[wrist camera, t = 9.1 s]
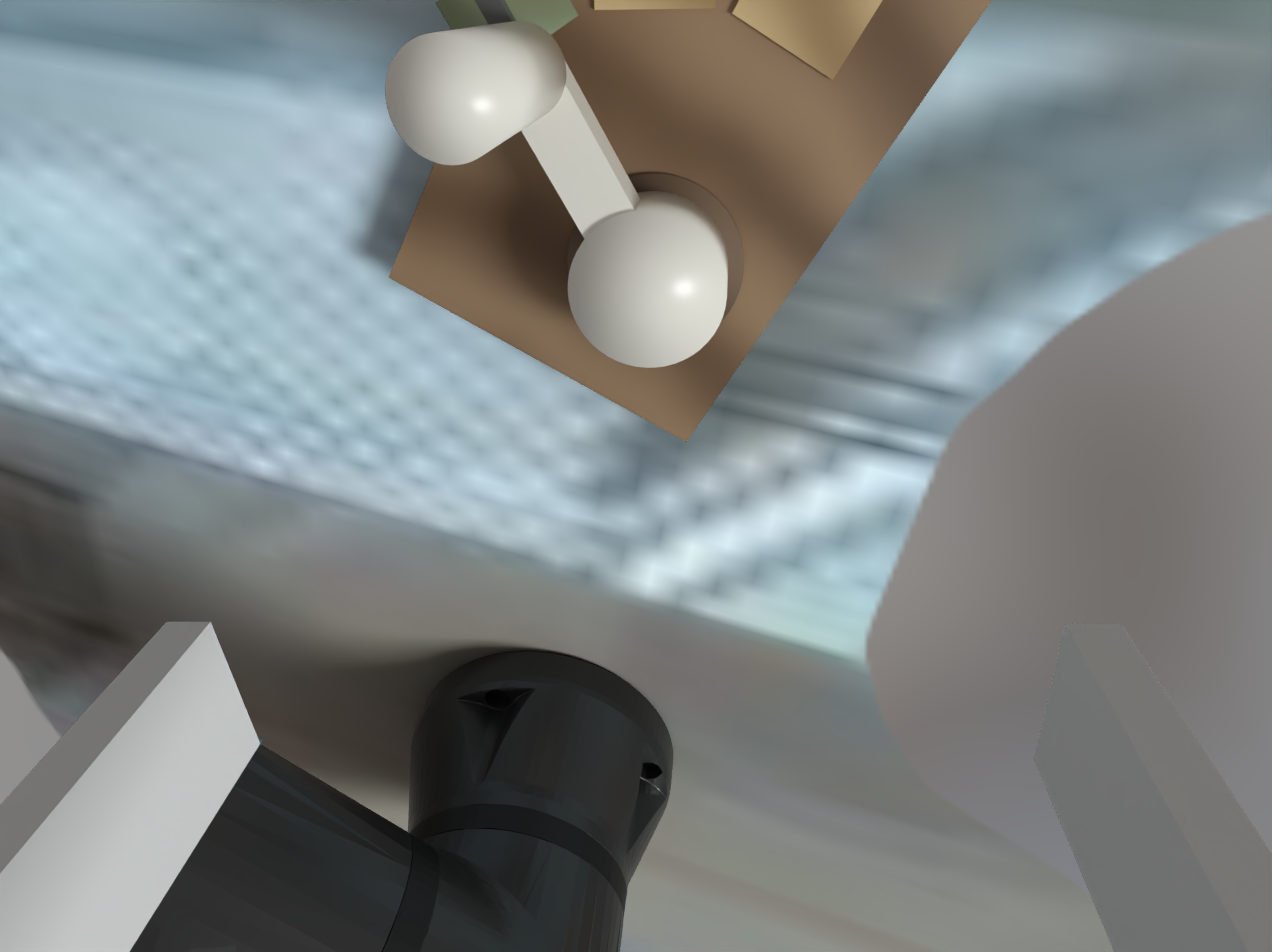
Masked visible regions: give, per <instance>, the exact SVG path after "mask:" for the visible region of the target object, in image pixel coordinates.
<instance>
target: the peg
mask: <svg viewBox="0 0 1272 952" xmlns="http://www.w3.org/2000/svg"><path fill="white" fill-rule="evenodd" d="M475 2H476V4H477V6H478V7H479V9H480V11H481V13H482V14H483V16H484V18H485V20H486V21H487V23H488V25H483V26H476V27H469V28H462V29H455V30H448V31H440V32H433V33H428V34H423V35H420V36H418V37H415V38H413V39H412V40H410V41H408V42H407V43H406V44H405V45H404V46H402V47H401V48H400V50H399V51H398V52H397V53H396V55H395V56H394V58H393V60H392V62H391V64H390V66H389V69H388V73H387V77H386V83H385V96H386V104H387V109H388V112H389V115H390V118H391V121H392V123H393V125H394V127H395V129H396V130H397V132H398V134H399V135H400V136H401V138H402V139H403V140H404V142H405V143H406V144H407V145H408V146H409V147H410V148H411V149H412V150H414V151H415V152H416V153H418V154H419V155H420V156H422V157H424V158H426V159H428V160H430V161H432V162H435V163H439V164H443V165H461V164H466V163H469V162H472V161H474V160H476V159H478V158H480V157H481V156H483V155H484V154H486V153H487V152H489V151H490V150H492V149H493V148H495V147H496V146H498V145H500V144H501V143H503V142H504V141H506V140H507V139H509V138H510V137H512V136H513V135H515V134H516V133H518V132H520V131H522V133H523V135H524V136H525V138H526V140H527V141H528V143H529V145H530V147H531V148H532V150H533V152H534V153H535V155H536V157H537V159H538V160H539V162H540V164H541V165H542V167H543V169H544V171H545V172H546V174H547V176H548V177H549V179H550V181H551V183H552V184H553V186H554V188H555V189H556V191H557V193H558V195H559V196H560V198H561V200H562V201H563V203H564V205H565V206H566V208H567V210H568V212H569V213H570V215H571V217H572V218H573V220H574V222H575V224H576V225H577V227H578V229H579V230H580V232H581V234H582V236H583V237H584V241H583V242H582V244H581V245H580V247H579V249H578V250H577V252H576V254H575V256H574V259H573V261H572V264H571V267H570V271H569V277H568V298H569V304H570V308H571V311H572V314H573V317H574V319H575V321H576V323H577V325H578V327H579V329H580V330H581V332H582V333H583V335H584V336H585V337H586V338H587V339H588V341H589V342H590V343H591V344H592V345H593V346H594V347H596V348H597V349H598V350H599V351H600V352H602V353H603V354H605V355H606V356H608V357H610V358H612V359H614V360H616V361H618V362H621V363H624V364H627V365H631V366H635V367H644V368H656V367H664V366H668V365H672V364H676V363H678V362H680V361H683V360H685V359H687V358H689V357H690V356H692V355H694V354H695V353H696V352H698V351H699V350H700V349H701V348H702V347H704V346H705V345H706V344H707V343H708V341H709V340H710V339H711V338H712V336H713V335H714V334H715V332H716V330H717V329H718V327H719V325H720V323H721V320H722V318H723V315H724V311H725V307H726V300H727V283H728V256H727V249H726V246H725V242H724V239H723V237H722V234H721V232H720V230H719V229H718V227H717V225H716V224H715V222H714V221H713V220H712V218H711V217H710V216H709V215H708V214H707V213H706V212H705V211H704V210H703V209H702V208H701V207H699V206H698V205H697V204H695V203H694V202H692V201H690V200H689V199H687V198H685V197H682V196H680V195H677V194H673V193H669V192H663V191H644V192H639V193H637V192H636V190H635V188H634V187H633V185H632V183H631V181H630V179H629V177H628V175H627V174H626V172H625V170H624V168H623V166H622V164H621V163H620V161H619V159H618V157H617V155H616V153H615V152H614V150H613V148H612V146H611V144H610V142H609V140H608V139H607V137H606V135H605V133H604V131H603V129H602V128H601V126H600V124H599V122H598V120H597V118H596V117H595V115H594V113H593V111H592V109H591V107H590V105H589V104H588V102H587V100H586V98H585V96H584V94H583V93H582V91H581V89H580V87H579V85H578V83H577V82H576V80H575V78H574V76H573V74H572V72H571V70H570V69H569V67H568V65H567V63H566V61H565V59H564V56H563V53H562V51H561V49H560V47H559V45H558V44H557V42H556V41H555V39H554V38H553V37H552V35H550V34H549V33H548V32H547V31H546V30H544V29H543V28H542V27H540V26H538V25H536V24H533V23H531V22H526V21H516V19H515V18H514V16H513V14H512V12H511V10H510V9H509V7H508V5H507V3H506V1H505V0H475Z"/></svg>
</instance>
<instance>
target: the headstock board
mask: <svg viewBox="0 0 1272 952" xmlns="http://www.w3.org/2000/svg"><path fill="white" fill-rule="evenodd" d="M505 1H506V3H507V5H508V7H509V9H510V10H511V12H512V14H513V16H514V18H515V19H516V21H526V22H531V23H533V24H536V25H538V26H540V27H542V28H543V29H544V30H546V31H547V32H548V33H549V34H550V35H552V37H553V38H554V39H555V41H556V42H557V44H558V45H559V47H560V49H561V51H562V53H563V56H564V59H565V61H566V63H567V65H568V67H569V69H570V70H571V72H572V74H573V76H574V78H575V80H576V82H577V83H578V85H579V87H580V89H581V91H582V93H583V94H584V96H585V98H586V100H587V102H588V104H589V105H590V107H591V109H592V111H593V113H594V115H595V117H596V118H597V120H598V122H599V124H600V126H601V128H602V129H603V131H604V133H605V135H606V137H607V139H608V140H609V142H610V144H611V146H612V148H613V150H614V152H615V153H616V155H617V157H618V159H619V161H620V163H621V164H622V166H623V168H624V170H625V172H626V174H627V175H628V177H629V179H630V181H631V183H632V185H633V187H634V188H635V190H636V192H637V193H639V192H644V191H663V192H669V193H673V194H677V195H680V196H682V197H685V198H687V199H689V200H690V201H692V202H694V203H695V204H697V205H698V206H699V207H701V208H702V209H703V210H704V211H705V212H706V213H707V214H708V215H709V216H710V217H711V218H712V220H713V221H714V222H715V224H716V225H717V227H718V229H719V230H720V232H721V234H722V237H723V239H724V242H725V246H726V249H727V256H728V283H727V300H726V307H725V311H724V315H723V318H722V320H721V323H720V325H719V327H718V329H717V330H716V332H715V334H714V335H713V336H712V338H711V339H710V340H709V341H708V343H707V344H706V345H705V346H704V347H702V348H701V349H700V350H699V351H698V352H696V353H695V354H694V355H692V356H690V357H689V358H687V359H685V360H683V361H680V362H678V363H676V364H672V365H668V366H664V367H656V368H644V367H635V366H631V365H627V364H624V363H621V362H618V361H616V360H614V359H612V358H610V357H608V356H606V355H605V354H603V353H602V352H600V351H599V350H598V349H597V348H596V347H594V346H593V345H592V344H591V343H590V342H589V341H588V339H587V338H586V337H585V336H584V335H583V333H582V332H581V330H580V329H579V327H578V325H577V323H576V321H575V319H574V317H573V314H572V311H571V308H570V304H569V298H568V277H569V271H570V267H571V264H572V261H573V259H574V256H575V254H576V252H577V250H578V249H579V247H580V245H581V244H582V242H583V241H584V237H583V236H582V234H581V232H580V230H579V229H578V227H577V225H576V224H575V222H574V220H573V218H572V217H571V215H570V213H569V212H568V210H567V208H566V206H565V205H564V203H563V201H562V200H561V198H560V196H559V195H558V193H557V191H556V189H555V188H554V186H553V184H552V183H551V181H550V179H549V177H548V176H547V174H546V172H545V171H544V169H543V167H542V165H541V164H540V162H539V160H538V159H537V157H536V155H535V153H534V152H533V150H532V148H531V147H530V145H529V143H528V141H527V140H526V138H525V136H524V135H523V133H522V131H520V132H518V133H516V134H515V135H513V136H512V137H510V138H509V139H507V140H506V141H504V142H503V143H501V144H500V145H498V146H496V147H495V148H493V149H492V150H490V151H489V152H487V153H486V154H484V155H483V156H481V157H480V158H478V159H476V160H474V161H472V162H469V163H466V164H461V165H443V164H439V163H434V166H433V168H432V171H431V173H430V176H429V178H428V181H427V183H426V186H425V188H424V191H423V193H422V196H421V198H420V201H419V203H418V206H417V208H416V211H415V213H414V216H413V218H412V221H411V223H410V226H409V228H408V231H407V233H406V236H405V238H404V241H403V243H402V246H401V248H400V251H399V253H398V256H397V258H396V261H395V263H394V266H393V268H392V270H391V273H390V275H389V278H391V279H392V280H394V281H396V282H398V283H400V284H401V285H403V286H405V287H407V288H409V289H411V290H412V291H414V292H416V293H418V294H420V295H421V296H423V297H425V298H427V299H429V300H430V301H432V302H434V303H436V304H438V305H439V306H441V307H443V308H445V309H447V310H448V311H450V312H452V313H454V314H456V315H458V316H459V317H461V318H463V319H465V320H467V321H468V322H470V323H472V324H474V325H476V326H477V327H479V328H481V329H483V330H485V331H486V332H488V333H490V334H492V335H494V336H495V337H497V338H499V339H501V340H503V341H505V342H506V343H508V344H510V345H512V346H514V347H515V348H517V349H519V350H521V351H523V352H524V353H526V354H528V355H530V356H532V357H533V358H535V359H537V360H539V361H541V362H542V363H544V364H546V365H548V366H550V367H552V368H553V369H555V370H557V371H559V372H561V373H562V374H564V375H566V376H568V377H570V378H571V379H573V380H575V381H577V382H579V383H580V384H582V385H584V386H586V387H588V388H590V389H591V390H593V391H595V392H597V393H599V394H600V395H602V396H604V397H606V398H608V399H609V400H611V401H613V402H615V403H617V404H618V405H620V406H622V407H624V408H626V409H627V410H629V411H631V412H633V413H635V414H637V415H638V416H640V417H642V418H644V419H646V420H647V421H649V422H651V423H653V424H655V425H656V426H658V427H660V428H662V429H664V430H665V431H667V432H669V433H671V434H673V435H674V436H676V437H678V438H680V439H682V440H684V441H685V442H687V440H688V439H689V437H690V436H691V434H692V433H693V432H694V430H695V429H696V427H697V426H698V424H699V423H700V421H701V420H702V419H703V417H704V416H705V414H706V413H707V411H708V410H709V408H710V407H711V406H712V404H713V403H714V401H715V400H716V398H717V397H718V395H719V394H720V393H721V391H722V390H723V388H724V387H725V385H726V384H727V382H728V381H729V379H730V378H731V377H732V375H733V374H734V372H735V371H736V369H737V368H738V366H739V365H740V364H741V362H742V361H743V359H744V358H745V356H746V355H747V353H748V352H749V351H750V349H751V348H752V346H753V345H754V343H755V342H756V340H757V339H758V338H759V336H760V335H761V333H762V332H763V330H764V329H765V327H766V326H767V325H768V323H769V322H770V320H771V319H772V317H773V316H774V314H775V313H776V311H777V310H778V309H779V307H780V306H781V304H782V303H783V301H784V300H785V298H786V297H787V296H788V294H789V293H790V291H791V290H792V288H793V287H794V285H795V284H796V283H797V281H798V280H799V278H800V277H801V275H802V274H803V272H804V271H805V270H806V268H807V267H808V265H809V264H810V262H811V261H812V259H813V258H814V257H815V255H816V254H817V252H818V251H819V249H820V248H821V246H822V245H823V243H824V242H825V241H826V239H827V238H828V236H829V235H830V233H831V232H832V230H833V229H834V228H835V226H836V225H837V223H838V222H839V220H840V219H841V217H842V216H843V215H844V213H845V212H846V210H847V209H848V207H849V206H850V204H851V203H852V202H853V200H854V199H855V197H856V196H857V194H858V193H859V191H860V190H861V189H862V187H863V186H864V184H865V183H866V181H867V180H868V178H869V177H870V175H871V174H872V173H873V171H874V170H875V168H876V167H877V165H878V164H879V162H880V161H881V160H882V158H883V157H884V155H885V154H886V152H887V151H888V149H889V148H890V147H891V145H892V144H893V142H894V141H895V139H896V138H897V136H898V135H899V134H900V132H901V131H902V129H903V128H904V126H905V125H906V123H907V122H908V121H909V119H910V118H911V116H912V115H913V113H914V112H915V110H916V109H917V107H918V106H919V105H920V103H921V102H922V100H923V99H924V97H925V96H926V94H927V93H928V92H929V90H930V89H931V87H932V86H933V84H934V83H935V81H936V80H937V79H938V77H939V76H940V74H941V73H942V71H943V70H944V68H945V67H946V66H947V64H948V63H949V61H950V60H951V58H952V57H953V55H954V54H955V52H956V51H957V50H958V48H959V47H960V45H961V44H962V42H963V41H964V39H965V38H966V37H967V35H968V34H969V32H970V31H971V29H972V28H973V26H974V25H975V24H976V22H977V21H978V19H979V18H980V16H981V15H982V13H983V12H984V11H985V9H986V8H987V6H988V5H989V3H990V2H991V0H505ZM436 5H437V6H438V8H439V9H440V11H441V13H442V14H443V16H444V18H445V19H446V21H447V23H448V24H449V26H450V28H451V29H452V30H455V29H462V28H469V27H476V26H483V25H488V23H487V21H486V20H485V18H484V16H483V14H482V13H481V11H480V9H479V7H478V6H477V4H476V2H475V0H439V1H437V2H436Z"/></svg>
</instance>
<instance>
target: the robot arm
mask: <svg viewBox="0 0 1272 952" xmlns="http://www.w3.org/2000/svg"><path fill="white" fill-rule="evenodd" d="M262 742H263V740H262V739H260V738H259V737H257V735H256V732H255V730H254V727H253V725H252V722H251V720H250V717H249V715H248V712H247V710H246V708H245V705H244V703H243V700H242V698H241V695H240V693H239V690H238V688H237V685H236V683H235V681H234V678H233V676H232V673H231V671H230V668H229V666H228V663H227V661H226V658H225V656H224V654H223V651H222V649H221V646H220V644H219V641H218V639H217V636H216V634H215V631H214V629H213V627H212V624H211V622H166V623H165V624H164V625H163V626H162V627H161V628H160V629H159V631H158V632H157V633H156V634H155V635H154V636H153V637H152V638H151V639H150V640H149V642H148V643H147V644H146V645H145V646H144V647H143V648H142V649H141V650H140V651H139V653H138V654H137V655H136V656H135V657H134V658H133V659H132V660H131V661H130V662H129V664H128V665H127V666H126V667H125V668H124V669H123V670H122V671H121V672H120V673H119V675H118V676H117V677H116V678H115V679H114V680H113V681H112V682H111V683H110V685H109V686H108V687H107V688H106V689H105V690H104V691H103V692H102V693H101V694H100V696H99V697H98V698H97V699H96V700H95V701H94V702H93V703H92V704H91V705H90V707H89V708H88V709H87V710H86V711H85V712H84V713H83V714H82V715H81V716H80V718H79V719H78V720H77V721H76V722H75V723H74V724H73V725H72V726H71V727H70V729H69V730H68V731H67V732H66V733H65V734H64V735H63V736H62V737H61V738H60V740H59V741H58V742H57V743H56V744H55V745H54V746H53V747H52V748H51V749H50V751H49V752H48V753H47V754H46V755H45V756H44V757H43V758H42V759H41V761H40V762H39V763H38V764H37V765H36V766H35V767H34V768H33V769H32V770H31V772H30V773H29V774H28V775H27V776H26V777H25V778H24V779H23V780H22V781H21V783H20V784H19V785H18V786H17V787H16V788H15V789H14V790H13V791H12V793H11V794H10V795H9V796H8V797H7V798H6V799H5V800H4V801H3V802H2V804H1V805H0V952H620V945H621V937H622V928H623V918H624V910H625V902H626V895H627V888H628V884H629V882H630V880H631V878H632V876H633V874H634V872H635V870H636V868H637V866H638V864H639V862H640V860H641V858H642V856H643V854H644V852H645V850H646V848H647V846H648V843H649V841H650V839H651V837H652V835H653V833H654V831H655V829H656V827H657V825H658V823H659V821H660V819H661V817H662V815H663V813H664V811H665V808H666V805H667V802H668V798H669V795H670V789H671V778H672V767H673V748H672V742H671V738H670V735H669V732H668V730H667V727H666V725H665V723H664V722H663V720H662V718H661V716H660V715H659V714H658V712H657V711H656V709H655V708H654V707H653V706H652V704H651V703H650V702H649V701H648V700H647V699H646V698H645V697H644V696H643V695H642V694H641V693H640V692H638V691H637V690H636V689H635V688H633V687H632V686H631V685H630V684H628V683H627V682H625V681H624V680H622V679H621V678H619V677H617V676H616V675H614V674H612V673H610V672H608V671H606V670H604V669H602V668H600V667H598V666H595V665H593V664H590V663H587V662H584V661H581V660H578V659H575V658H571V657H567V656H562V655H557V654H550V653H542V652H510V653H502V654H496V655H491V656H487V657H484V658H480V659H477V660H475V661H472V662H470V663H468V664H465V665H463V666H461V667H460V668H458V669H456V670H455V671H453V672H452V673H450V674H449V675H448V676H447V677H445V678H444V679H443V680H442V681H441V682H440V683H439V684H438V685H437V687H436V688H435V689H434V691H433V692H432V693H431V695H430V697H429V699H428V701H427V703H426V706H425V708H424V710H423V713H422V715H421V717H420V720H419V722H418V724H417V727H416V729H415V733H414V736H413V740H412V746H411V765H410V792H409V820H408V832H407V831H405V830H403V829H402V828H400V827H398V826H397V825H395V824H393V823H392V822H390V821H388V820H387V819H385V818H383V817H382V816H380V815H378V814H376V813H375V812H373V811H371V810H370V809H368V808H366V807H365V806H363V805H361V804H360V803H358V802H356V801H355V800H353V799H351V798H350V797H348V796H346V795H345V794H343V793H341V792H340V791H338V790H336V789H335V788H333V787H331V786H330V785H328V784H326V783H324V782H323V781H321V780H319V779H318V778H316V777H314V776H313V775H311V774H309V773H308V772H306V771H304V770H303V769H301V768H299V767H298V766H296V765H294V764H293V763H291V762H289V761H288V760H286V759H284V758H283V757H281V756H279V755H277V754H276V753H274V752H272V751H271V750H269V749H267V748H266V747H264V746H262V745H261V743H262ZM1034 761H1035V763H1036V766H1037V768H1038V770H1039V773H1040V775H1041V778H1042V780H1043V782H1044V785H1045V787H1046V790H1047V792H1048V794H1049V797H1050V799H1051V802H1052V804H1053V806H1054V809H1055V811H1056V814H1057V816H1058V818H1059V820H1060V823H1061V825H1062V828H1063V830H1064V832H1065V835H1066V837H1067V840H1068V842H1069V845H1070V847H1071V849H1072V852H1073V854H1074V857H1075V859H1076V861H1077V864H1078V866H1079V868H1080V871H1081V873H1082V876H1083V878H1084V880H1085V883H1086V885H1087V888H1088V890H1089V892H1090V895H1091V897H1092V900H1093V902H1094V904H1095V907H1096V909H1097V912H1098V914H1099V916H1100V919H1101V921H1102V924H1103V926H1104V928H1105V931H1106V933H1107V936H1108V938H1109V940H1110V943H1111V945H1112V947H1113V950H1114V952H1272V853H1271V852H1270V850H1269V849H1268V847H1267V846H1266V844H1265V842H1264V841H1263V840H1262V838H1261V836H1260V835H1259V833H1258V832H1257V830H1256V829H1255V827H1254V826H1253V824H1252V823H1251V821H1250V820H1249V818H1248V817H1247V815H1246V813H1245V812H1244V810H1243V809H1242V807H1241V806H1240V804H1239V803H1238V801H1237V800H1236V798H1235V797H1234V795H1233V794H1232V792H1231V790H1230V789H1229V788H1228V786H1227V784H1226V783H1225V781H1224V780H1223V778H1222V777H1221V775H1220V774H1219V772H1218V771H1217V769H1216V768H1215V767H1214V765H1213V763H1212V762H1211V760H1210V758H1209V757H1208V755H1207V754H1206V752H1205V751H1204V749H1203V748H1202V746H1201V745H1200V743H1199V742H1198V740H1197V738H1196V737H1195V735H1194V734H1193V732H1192V731H1191V729H1190V728H1189V726H1188V725H1187V723H1186V722H1185V720H1184V719H1183V717H1182V716H1181V714H1180V713H1179V711H1178V710H1177V708H1176V706H1175V705H1174V703H1173V702H1172V700H1171V699H1170V697H1169V696H1168V694H1167V693H1166V691H1165V690H1164V688H1163V687H1162V685H1161V683H1160V682H1159V680H1158V679H1157V677H1156V676H1155V674H1154V673H1153V671H1152V670H1151V668H1150V667H1149V665H1148V664H1147V662H1146V660H1145V659H1144V657H1143V656H1142V654H1141V653H1140V651H1139V650H1138V648H1137V647H1136V645H1135V644H1134V642H1133V641H1132V639H1131V637H1130V636H1129V635H1128V633H1127V631H1126V630H1125V628H1124V627H1123V625H1122V624H1065V628H1064V633H1063V637H1062V641H1061V645H1060V650H1059V654H1058V659H1057V663H1056V667H1055V671H1054V675H1053V680H1052V684H1051V688H1050V693H1049V697H1048V701H1047V705H1046V710H1045V714H1044V718H1043V723H1042V727H1041V731H1040V735H1039V740H1038V744H1037V748H1036V753H1035V757H1034Z"/></svg>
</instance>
